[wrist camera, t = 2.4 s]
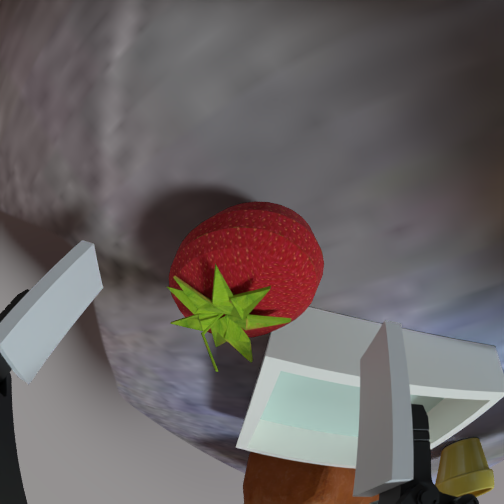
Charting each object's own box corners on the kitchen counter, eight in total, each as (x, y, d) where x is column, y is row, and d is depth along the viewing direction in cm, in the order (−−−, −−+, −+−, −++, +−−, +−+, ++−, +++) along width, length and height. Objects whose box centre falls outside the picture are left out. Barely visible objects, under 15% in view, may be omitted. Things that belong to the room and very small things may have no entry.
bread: (329, 480, 48) (316, 541, 36) (244, 446, 42) (219, 524, 30) (404, 467, 39) (397, 538, 27) (332, 432, 32) (313, 537, 21)
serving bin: (280, 299, 21) (265, 355, 17) (495, 346, 19) (508, 392, 15) (246, 412, 33) (235, 447, 29) (394, 437, 31) (393, 470, 27)
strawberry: (347, 230, 17) (347, 382, 9) (246, 277, 21) (194, 406, 13) (291, 143, 15) (238, 249, 7) (190, 209, 19) (97, 323, 11)
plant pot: (488, 425, 27) (493, 484, 19) (491, 441, 30) (494, 491, 22) (424, 447, 32) (423, 505, 24) (437, 460, 35) (436, 508, 27)
